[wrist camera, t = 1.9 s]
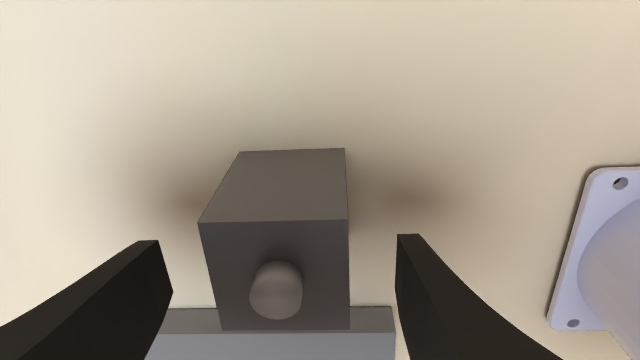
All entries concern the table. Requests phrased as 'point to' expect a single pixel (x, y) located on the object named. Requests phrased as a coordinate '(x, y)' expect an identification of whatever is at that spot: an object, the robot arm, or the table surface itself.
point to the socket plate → (273, 339)
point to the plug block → (280, 241)
